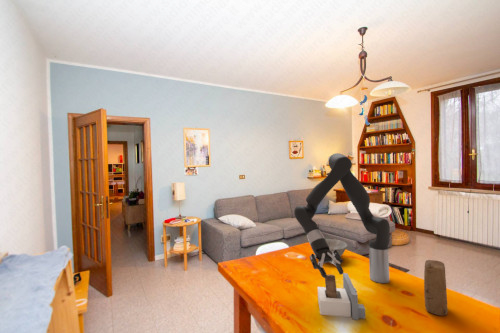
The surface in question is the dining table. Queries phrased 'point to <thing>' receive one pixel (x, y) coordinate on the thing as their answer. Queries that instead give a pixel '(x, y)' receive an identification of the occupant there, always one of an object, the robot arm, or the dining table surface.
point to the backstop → (353, 298)
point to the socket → (334, 303)
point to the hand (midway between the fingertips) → (333, 275)
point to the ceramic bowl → (336, 246)
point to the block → (435, 287)
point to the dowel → (330, 286)
